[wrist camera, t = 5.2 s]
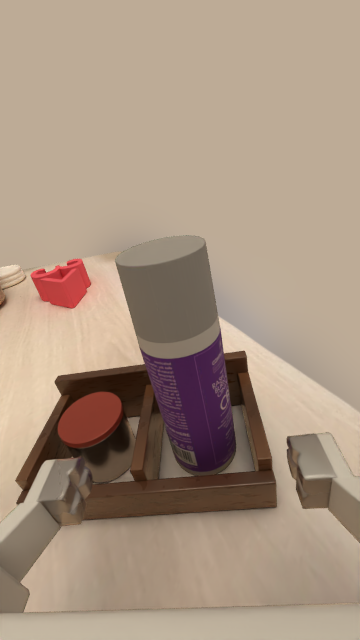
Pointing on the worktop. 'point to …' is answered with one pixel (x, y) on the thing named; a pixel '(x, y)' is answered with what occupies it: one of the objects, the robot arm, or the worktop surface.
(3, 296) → the planter
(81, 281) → the letters
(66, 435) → the spice jar
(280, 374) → the worktop surface
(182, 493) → the spice rack
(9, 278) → the coaster
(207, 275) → the container
